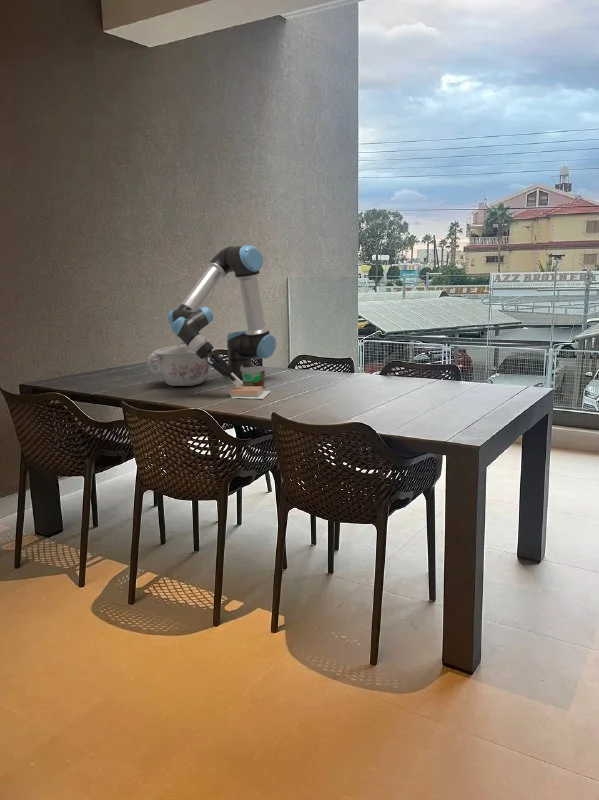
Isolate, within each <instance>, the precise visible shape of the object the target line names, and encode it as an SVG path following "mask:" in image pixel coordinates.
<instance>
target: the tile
mask: <svg viewBox="0 0 599 800" xmlns="http://www.w3.org/2000/svg"><path fill="white" fill-rule="evenodd" d="M263 391H264V387H263V386H244V385H241V386H240V387H239V388H238V387H237V386H236V385H235V387H233V388H231V390H230V392H229V393H230V397H233V396H236V397H258V396H259V395H260V394H262V393H263Z"/></svg>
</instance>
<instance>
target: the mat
mask: <svg viewBox="0 0 599 800" xmlns="http://www.w3.org/2000/svg"><path fill="white" fill-rule="evenodd" d="M269 393H270V394H271V393H272V390H263V393H262V394H260V395H259V396H258V397H236V396H230V399H231V398H249V399H263V400H265V399H266V398H267V397H268V396H269V395H270V394H269ZM268 394H269V395H268ZM267 395H268V396H267ZM266 396H267V397H266ZM265 397H266V398H265ZM264 398H265V399H264Z"/></svg>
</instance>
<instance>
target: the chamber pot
mask: <svg viewBox="0 0 599 800" xmlns="http://www.w3.org/2000/svg"><path fill="white" fill-rule="evenodd" d="M154 358H155V359H157V361H156V363H157V364H156V365H157V370H158V371H156V369H154V368H153V366H152V360H153V359H154ZM146 361H147V363H146V364H147V368H148V369H149V370H150V372H151V373H153V374H155V375H156V376H158V377H159V378H160V379H161V380H162V381H163V382H164V383H165V384H166V385H168V386H171V387H174V386H191V387H194V385H196V386H198V385H200V384H202V383H203V382H204V381H205V379H206V378H207V375H208V374H209V370H210V365H209V364H208V363H207V362H208V361H207V359H206V358H203V359H201V358H200V357H199V356H198V355H196V352H194V351H193V350H190V347H188V346H187V345H186V344H185V343H184V342H183V341H181V342H178V343H176V345H171V346H165V347H161V348H157V349H154V351H153V352H152V353H150V354H149V356H148V357H147V359H146Z"/></svg>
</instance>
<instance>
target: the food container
mask: <svg viewBox="0 0 599 800" xmlns="http://www.w3.org/2000/svg"><path fill="white" fill-rule="evenodd" d="M240 371H242V377H243V379H242V382H243V384H242V385H243V386H263V388H264V387H265V372H266V371H267V369H266V366H265V365H264V366H263V365H262V366H258V367H256V366H253V367H243V366H241V369H240Z"/></svg>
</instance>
